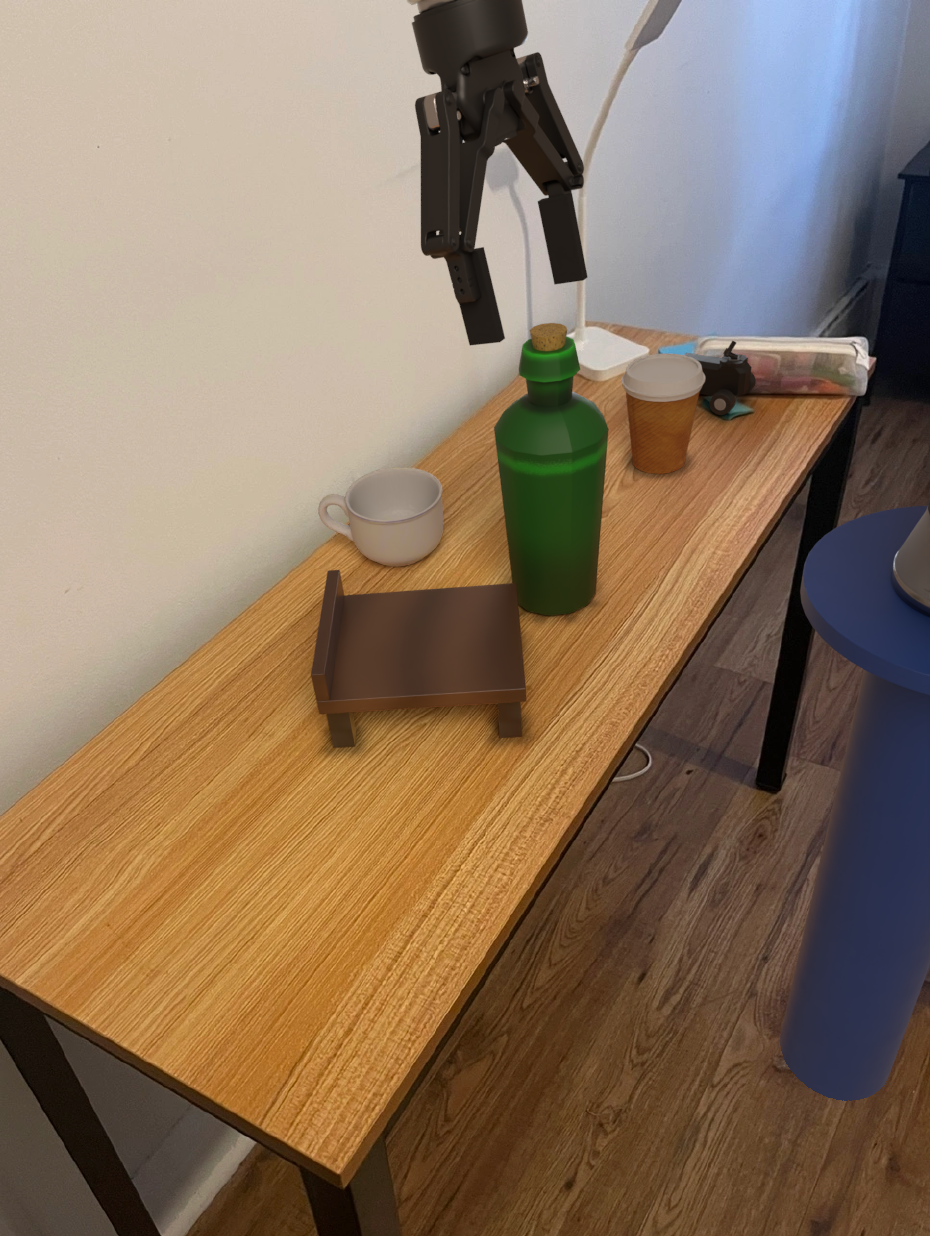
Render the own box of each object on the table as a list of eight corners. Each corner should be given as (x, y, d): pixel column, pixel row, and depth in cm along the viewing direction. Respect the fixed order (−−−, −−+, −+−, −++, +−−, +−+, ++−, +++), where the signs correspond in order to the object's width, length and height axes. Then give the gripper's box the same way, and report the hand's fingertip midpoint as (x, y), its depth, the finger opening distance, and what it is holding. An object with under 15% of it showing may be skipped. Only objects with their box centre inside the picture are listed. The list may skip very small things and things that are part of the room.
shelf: (518, 632, 102) (514, 556, 96) (528, 740, 90) (524, 660, 84) (341, 644, 104) (327, 570, 98) (327, 752, 92) (310, 674, 86)
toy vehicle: (731, 421, 132) (738, 355, 126) (626, 401, 140) (628, 338, 134) (756, 396, 137) (764, 331, 131) (653, 378, 144) (656, 316, 139)
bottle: (581, 558, 111) (581, 299, 93) (622, 610, 103) (631, 338, 85) (489, 580, 110) (471, 322, 92) (523, 635, 102) (511, 364, 84)
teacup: (458, 530, 118) (452, 468, 113) (433, 582, 111) (426, 518, 106) (346, 523, 122) (335, 463, 117) (314, 573, 115) (302, 511, 109)
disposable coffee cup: (690, 440, 129) (697, 348, 121) (705, 477, 122) (714, 381, 114) (614, 447, 130) (616, 356, 122) (625, 484, 123) (628, 389, 115)
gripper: (507, -18, 78) (562, 264, 89) (309, 44, 63) (405, 375, 74) (594, -50, 74) (641, 252, 85) (403, 9, 59) (490, 367, 70)
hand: (531, 310), depth 80 cm, fingers open, 13 cm apart
